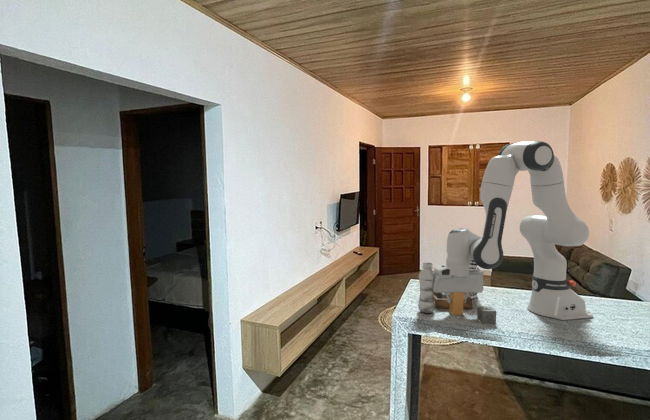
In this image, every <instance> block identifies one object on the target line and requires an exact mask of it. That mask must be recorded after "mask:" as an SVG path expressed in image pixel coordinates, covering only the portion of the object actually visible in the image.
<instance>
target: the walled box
mask: <svg viewBox="0 0 650 420" xmlns="http://www.w3.org/2000/svg"><path fill="white" fill-rule="evenodd" d="M449 297H450V295H449ZM434 301H435V310H448V309H449V306H450V303H448V302H447V297H446V295H445V293H435V292H434ZM464 309H465V310H468V309H469V310H472V309H473V298H470V297H469V296H468V297H467V299H466V303H463V310H464Z"/></svg>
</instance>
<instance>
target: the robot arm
mask: <svg viewBox="0 0 650 420" xmlns="http://www.w3.org/2000/svg"><path fill="white" fill-rule="evenodd" d="M487 163H488V164H487V166H486V167H485V171H484V173H483V175H482V180H481V184H480V190H479V191H480V193H479V199H480V202H481V203H482V205H483V208H484V211H485V222H484V228H483V233H482V236H481V235H478V234H476V233H474V232H472V231H471V230H469V229H468V228H465V227H464V228H455V229H452V230H450V231H449V233H448V235H447V238H446V253H447V254H446V255H447V257H446V260H445V262H444V263H442V264H439V265H436V266H433V272H434V274H435V280H434V285H433V291H434V292H435V293H445V295H446V297H447V302H448V303H452V299H451V298H450V297H449V295H450V293H453V292H464V302H463V303H466V299H467V297H468V296H469V293H478V294H479V293H483V292H484V280H483V279H484V272H483V270H481V269H484V270H493V269H495V268H498V267H499V266H500V265H501V264H502V263H503V261H504V251H503V247H502V246H503V245H502V241H503V235H504V228H505V222H506V218H507V211H508V207H509V203H510V201H511V197H512V192H513V189H514V186H515V185H514V184H515V179H516V176H517V174H518V173H519V172H520V171H521V172H522V171H523V172H524V171H525V172H526V171H527V172H528V173H529V175H530V176H529V179H530V189H531V199H532V203H533V205H534V206H535V207H536V208H537V209H539V210H541V211H542V213H543V215H541V214H536V215H535V214H534V215H527V216H525V217H523V219H522V220H521V221H520V224H519V232H520V234H521V235H522V237H523V238H524V239H525V240H526V241H527V243H528V244H529V245H530V248H531V252H532V254H533V255H532V256H533V274H532V277H531V278H532V279H531V288H532V289H531V295H530V299H529V303H528V304H527V307H526V309H528V311H530V312H532V313H534V314H536V315H540V316H544V317H547V318H548V317H549V318H553V319H557V320H560V321H569V320H570V321H571V320H578V319H589V318H593V317H594V315H593V313H592V312H591V311H590V310H588V309H587V305H586V302H585V299H584V298H583V297H582V296H580V295H579V294H577V293H576V292H575V291H574V290H573V289H571V287H576V285H577V282H576V281H574V280H569V279H567V266H568V265H567V260H566V258H565V256H564V255H563V254H561V253H560V252H559V251H558V249H557V248H556V245H558V246H561V247H562V246H563V247H579V246H582V245H584V244H585V243H586V242H587V241H588V239H589V236H590V229H589V227H588V225H587V224H586V222H585V221H583V220H581V219H580V218H579V217H578V215H576V214H575V213H574V211H573V210H572V209H571V207H570V205H569V203H568V200H567V196H566V195H567V194H566V188H565V182H564V181H565V179H564V173H563V169H562V166H561V162H560V160H559V158H558V157H557V156H556V155H555V154H554V150H553V148H552V147H551V145H550V144H549V143H547V142H545V141H540V140H534V141H533V140H532V141H531V140H530V141H529V140H525V141H520V142H516V143H515V142H512V143H508V144H506V145H504V146H503V147H502V148H501V149H500V150H499V151H498V153H497V156H492V158H491V159H490V160H489V161H488V162H487ZM471 260H474V261H475V262H476V264H477V265H478V266H477V267H478V268H479V267H480V268H481V269H480V268H479V269H470V261H471ZM570 286H571V287H570Z"/></svg>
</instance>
